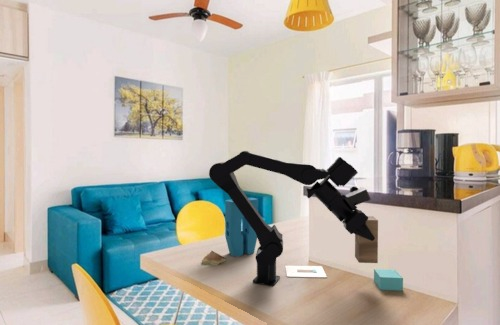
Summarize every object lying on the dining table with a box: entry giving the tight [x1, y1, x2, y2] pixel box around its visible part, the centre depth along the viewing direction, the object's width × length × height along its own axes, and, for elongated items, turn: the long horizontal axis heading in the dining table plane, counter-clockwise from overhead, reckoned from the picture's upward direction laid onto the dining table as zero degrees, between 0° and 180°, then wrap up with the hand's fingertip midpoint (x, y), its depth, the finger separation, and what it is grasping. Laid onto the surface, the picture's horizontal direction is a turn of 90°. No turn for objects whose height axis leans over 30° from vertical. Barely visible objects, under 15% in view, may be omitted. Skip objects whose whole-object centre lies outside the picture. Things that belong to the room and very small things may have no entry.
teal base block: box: [373, 268, 404, 292], centre depth 91 cm, size 6×6×4 cm
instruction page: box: [284, 265, 328, 279], centre depth 101 cm, size 9×12×1 cm
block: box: [224, 197, 259, 257], centre depth 119 cm, size 12×5×20 cm, turn 122°
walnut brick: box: [354, 215, 379, 264], centre depth 91 cm, size 5×5×12 cm
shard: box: [201, 250, 227, 266], centre depth 113 cm, size 11×8×2 cm
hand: (371, 237), depth 91 cm, fingers closed on walnut brick, 5 cm apart
